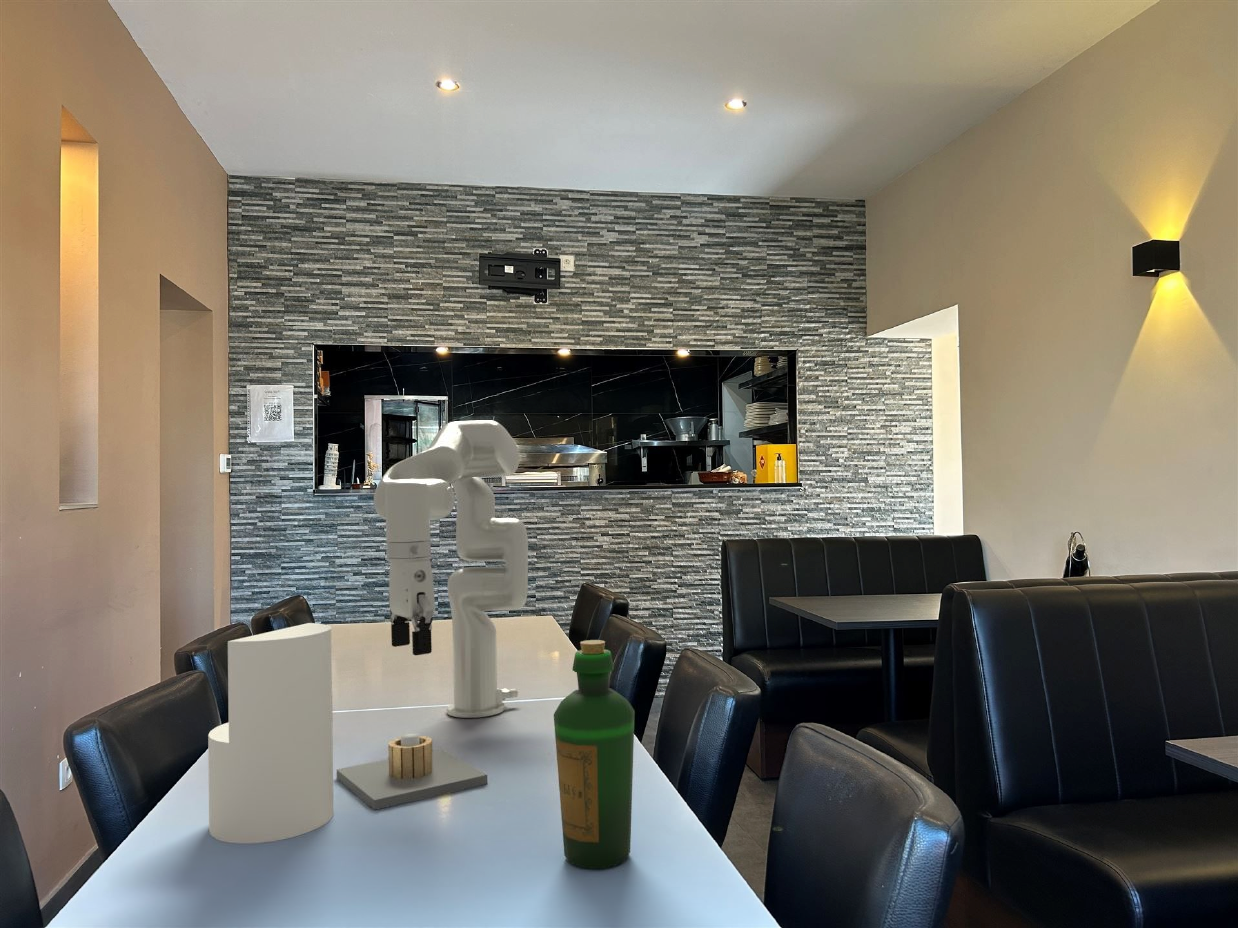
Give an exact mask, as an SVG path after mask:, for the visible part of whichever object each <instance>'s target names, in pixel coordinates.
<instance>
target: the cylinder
mask: <svg viewBox="0 0 1238 928" xmlns="http://www.w3.org/2000/svg"><path fill="white" fill-rule="evenodd" d="M332 667H333V666H332V626H331V625H329V624H324V623H315V622H314V623H313V622H307V623H304V624H299V625H294V626H290V627H289V626H288V627H285V628H280V629H276V630H272V631H268V632H263V633H259V634H254V635H250V636H246V637H240V638H236V639H232V640H228V641H227V681H228V682H227V685H228V686H227V687H228V688H227V690H228V691H227V694H228V698H227V699H228V701H227V702H228V703H227V704H228V706H227V707H228V708H227V709H228V722H226V723H225V722H224V723H223V724H220V725H217V726H216V727H214V728H213V729H212V730H210V731H209V733H208V735H207V737H208V738H207V739H208V741H207V742H208V744H207V745H208V746H207V747H208V749H207V751H208V756H207V757H208V828H209V829H208V832H209V834H210V836H211V837H212V838H214V839H216V840H218V841H221V842H226V843H230V844H231V843H232V844H244V845H245V844H263V843H268V842H269V843H270V842H276V841H282V840H286V839H290V838H294V837H295V838H296V837H297V836H301V835H304V834H307V833H310V832H312V831H315V830H316V829H318V828H320V827H323V826H324V825H325V824H327V823H328V822H330V820H331V819H332V818H333V816H334V813H335V812H334V811H335V810H334V805H335V804H334V754H333V753H334V747H333V745H334V743H333V742H334V741H333V737H334V736H333V735H334V734H333V733H334V732H333V727H332V717H333V681H332V680H333V677H332V675H333V673H332V671H333V670H332V669H333V668H332Z"/></svg>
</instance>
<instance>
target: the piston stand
mask: <svg viewBox="0 0 1238 928" xmlns="http://www.w3.org/2000/svg"><path fill="white" fill-rule="evenodd" d="M419 736H420V734H419V733H406V734H403V735H401V736H400V738H401V746H414V745H419ZM432 757H433V770H432V772H431V773H430V774H427V775H425V776H422V777H417V778H411V779H403V778H402V779H399V778H393V777H391V776H390V775H389V758H387V759H382V760H377V761H372V762H367V763H361V764H357V765H352V766H347V767H342V768H337V769H336V779H337V780H339V781H340V783H342V784H343V785H344V786H345V787H346V788H347V789H349V790H350V791H351V790H352V791H351V792H352V793H354V794H355V795H356V796H357V798H358V797H359V798H360V799H361V801H363V802H364V801H365V802H364V803H366V804H367V805H368V807H370V806H371V807H372V808H371V807H370V808H371V809H373V808H374V809H373V810H374V811H376V810H375V809H377V810H379V809H378V808H381V809H384V807H386V808H388V807H387V806H390V807H393V805H394V806H397V805H398V804H399V805H402V804H401V803H403V804H407V803H410V802H411V801H412V802H415V801H419V800H424V799H428V798H431V797H436V796H442V795H446V794H449V793H455V792H458V791H462V790H467V789H471V788H475V787H481V786H485V785H488V774H486V773H485V772H484V771H481V770H480V769H478V768H476V767H474V766H472V765H471V764H470V763H468V762H466V761H464V760H462V759H460V758H458V757H456V756H455V755H453V754H452V753H450V752H448V751H446V750H445V749H443V748H437V749H432ZM412 802H411V803H412Z"/></svg>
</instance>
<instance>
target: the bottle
mask: <svg viewBox="0 0 1238 928" xmlns="http://www.w3.org/2000/svg"><path fill="white" fill-rule="evenodd" d="M579 644H580V648H581V649H580V650H577V651H575V653H574V657H573V658H574V659H573V662H572V663H573V664H572V665H573V666H572V671H573V672H574V673H576V677H577V687H578V689H574V691H572V692H571V693H570V694H568V695H567V696H566V697H564V698H563V699H562V700H561V701H560V703H559V704H558V706H557V708H556V710H555V711H554V713H553V722H554V724H553V725H554V738H555V750H556V751H555V752H556V762H557V774H558V775H557V776H558V789H559V801H560V815H561V826H562V841H563V843H562V844H563V852H564V853H563V855H564V857H565V858H566V860H567V862H569V863H570V864H573V865H575V866H577V867H581V868H584V869H596V870H600V869H607V868H611V867H614V866H617V865H618V864H620V863H622V862H624V861H625V860H627V859H628V858H629V856H630V853H631V842H632V841H631V838H632V836H631V834H632V808H633V807H632V805H633V804H632V802H633V775H634V774H633V773H634V768H633V767H634V744H635V743H634V741H635V714H636V711H635V709H634V708H633V706H632V704H631V703H630V701H629V700H628V699H627V698H626V697H624V696H623V695H622V694H620V693H619V692H617V691H615V690H614V689H612V688H610V676H611V675H610V674H611V672H612V671H613V670H614V669H615V667H614V666H615V665H614V661H613V658H612V657H613V656H612V653H611V651H610V650H608V649H605V645H606V641H605V640H600V639H590V640H589V639H588V640H583V641H582V640H581V641H580V642H579Z"/></svg>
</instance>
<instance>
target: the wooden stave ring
mask: <svg viewBox="0 0 1238 928" xmlns="http://www.w3.org/2000/svg"><path fill="white" fill-rule="evenodd" d="M432 750H433V739H432V738H431V737H429V736H423V735H419V745H414V746H401V737H398V738H394V739H393V740H390V741H389V743H388V759H389V775H390V776H391V777H393V778H399V779H402V778H403V779H411V778H417V777H422V776H425V775H427V774H430V773H431V772H432V770H433V757H432Z"/></svg>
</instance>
